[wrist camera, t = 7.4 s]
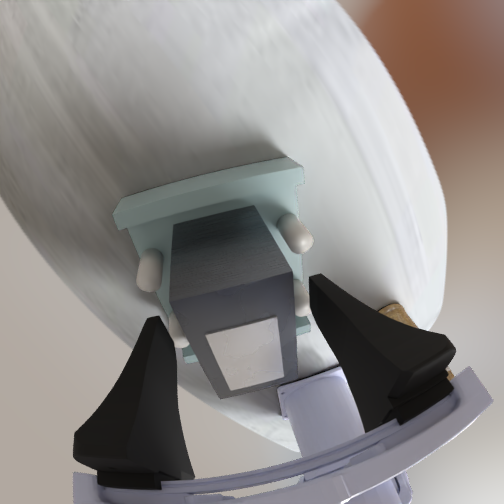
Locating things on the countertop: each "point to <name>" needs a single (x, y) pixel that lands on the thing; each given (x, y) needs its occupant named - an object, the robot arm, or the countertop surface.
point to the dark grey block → (234, 300)
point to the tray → (208, 203)
